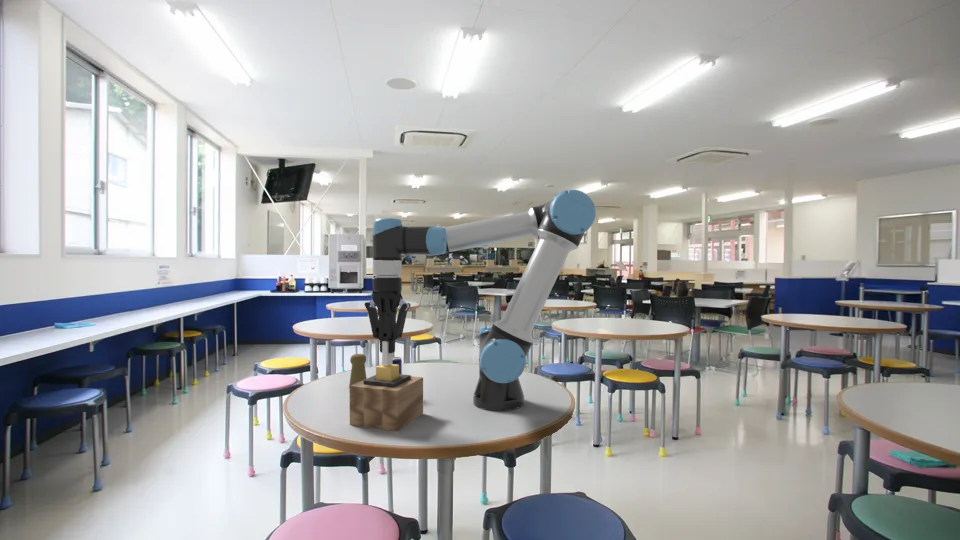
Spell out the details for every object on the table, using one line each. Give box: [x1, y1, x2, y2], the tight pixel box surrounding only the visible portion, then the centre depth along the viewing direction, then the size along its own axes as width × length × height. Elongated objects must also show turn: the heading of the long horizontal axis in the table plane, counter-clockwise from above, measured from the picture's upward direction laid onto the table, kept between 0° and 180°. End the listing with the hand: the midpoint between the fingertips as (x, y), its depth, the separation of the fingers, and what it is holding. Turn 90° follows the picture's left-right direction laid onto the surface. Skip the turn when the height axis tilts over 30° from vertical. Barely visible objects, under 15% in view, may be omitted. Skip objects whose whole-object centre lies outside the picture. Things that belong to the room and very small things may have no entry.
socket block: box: [349, 373, 424, 432], centre depth 118 cm, size 14×14×11 cm
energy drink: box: [393, 356, 403, 374], centre depth 138 cm, size 5×5×12 cm
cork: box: [348, 353, 368, 389], centre depth 149 cm, size 6×6×11 cm
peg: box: [375, 364, 399, 381], centre depth 118 cm, size 4×4×9 cm
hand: (387, 364), depth 118 cm, fingers closed
